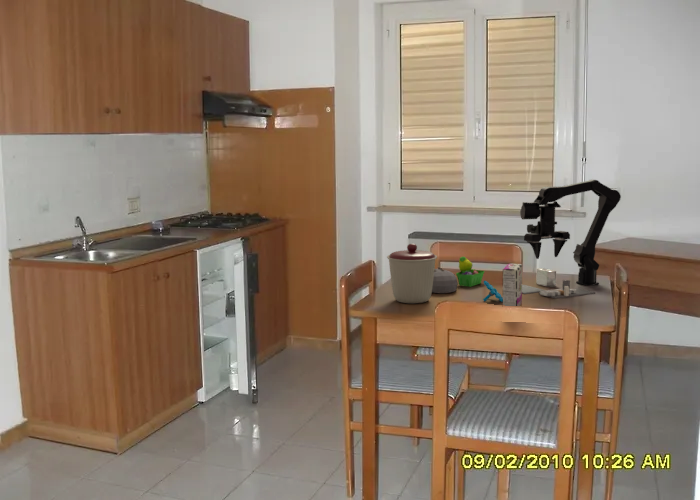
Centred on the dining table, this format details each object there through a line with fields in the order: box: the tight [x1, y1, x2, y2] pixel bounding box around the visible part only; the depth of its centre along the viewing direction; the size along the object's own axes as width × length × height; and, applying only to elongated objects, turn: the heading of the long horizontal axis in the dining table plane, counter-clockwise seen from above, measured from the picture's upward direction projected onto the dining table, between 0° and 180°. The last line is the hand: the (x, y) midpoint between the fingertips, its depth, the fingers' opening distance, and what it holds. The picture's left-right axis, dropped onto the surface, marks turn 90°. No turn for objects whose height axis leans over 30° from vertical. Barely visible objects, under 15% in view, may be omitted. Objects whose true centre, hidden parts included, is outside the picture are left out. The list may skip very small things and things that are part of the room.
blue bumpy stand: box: [482, 280, 503, 303], centre depth 262 cm, size 11×6×10 cm
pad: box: [522, 284, 546, 295], centre depth 282 cm, size 10×13×1 cm
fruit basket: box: [455, 256, 485, 288], centre depth 294 cm, size 11×9×11 cm
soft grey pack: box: [432, 267, 459, 294], centre depth 285 cm, size 15×8×20 cm
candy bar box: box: [502, 263, 523, 307], centre depth 239 cm, size 11×5×16 cm, turn 158°
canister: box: [386, 243, 438, 304], centre depth 263 cm, size 18×18×21 cm
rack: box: [539, 279, 576, 297], centre depth 270 cm, size 13×5×4 cm, turn 115°
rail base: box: [538, 286, 596, 299], centre depth 272 cm, size 19×9×4 cm, turn 115°
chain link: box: [535, 267, 557, 288], centre depth 291 cm, size 4×10×6 cm, turn 25°
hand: (546, 257), depth 290 cm, fingers open, 9 cm apart
